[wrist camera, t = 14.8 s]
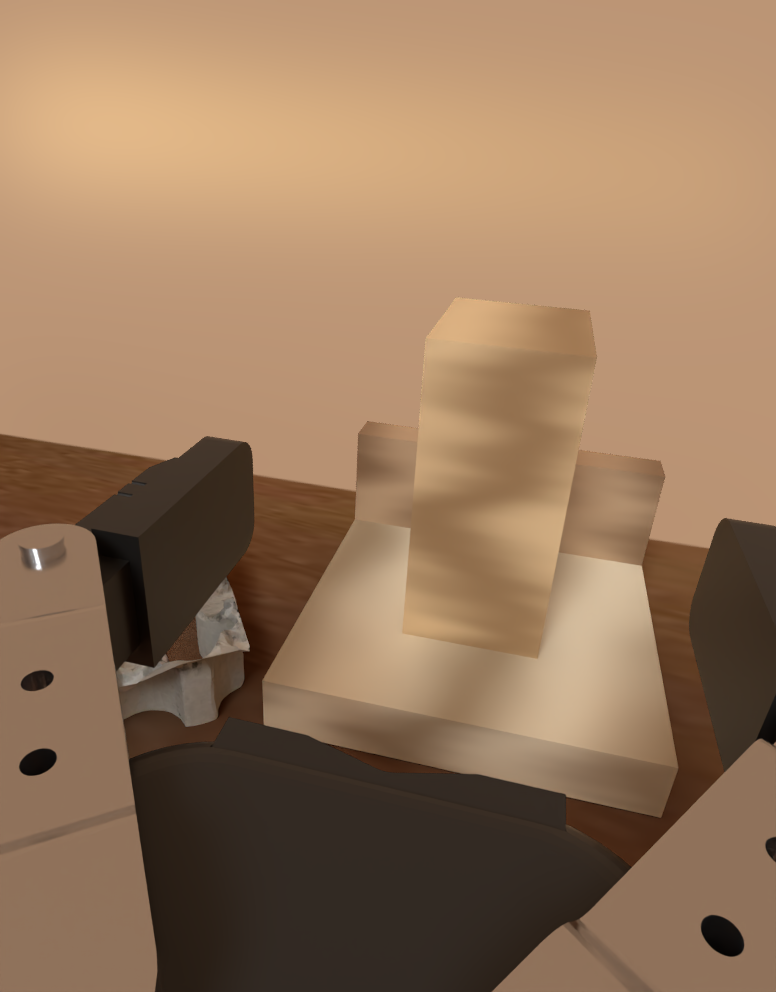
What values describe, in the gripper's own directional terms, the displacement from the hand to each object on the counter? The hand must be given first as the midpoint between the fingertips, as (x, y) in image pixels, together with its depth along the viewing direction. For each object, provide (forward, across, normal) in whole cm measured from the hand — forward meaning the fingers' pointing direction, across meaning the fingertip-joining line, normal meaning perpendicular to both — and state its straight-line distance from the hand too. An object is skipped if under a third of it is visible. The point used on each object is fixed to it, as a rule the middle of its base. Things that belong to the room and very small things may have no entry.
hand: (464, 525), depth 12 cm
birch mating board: (+10, 0, +11) cm, 15 cm away
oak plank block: (+11, 0, +9) cm, 14 cm away
